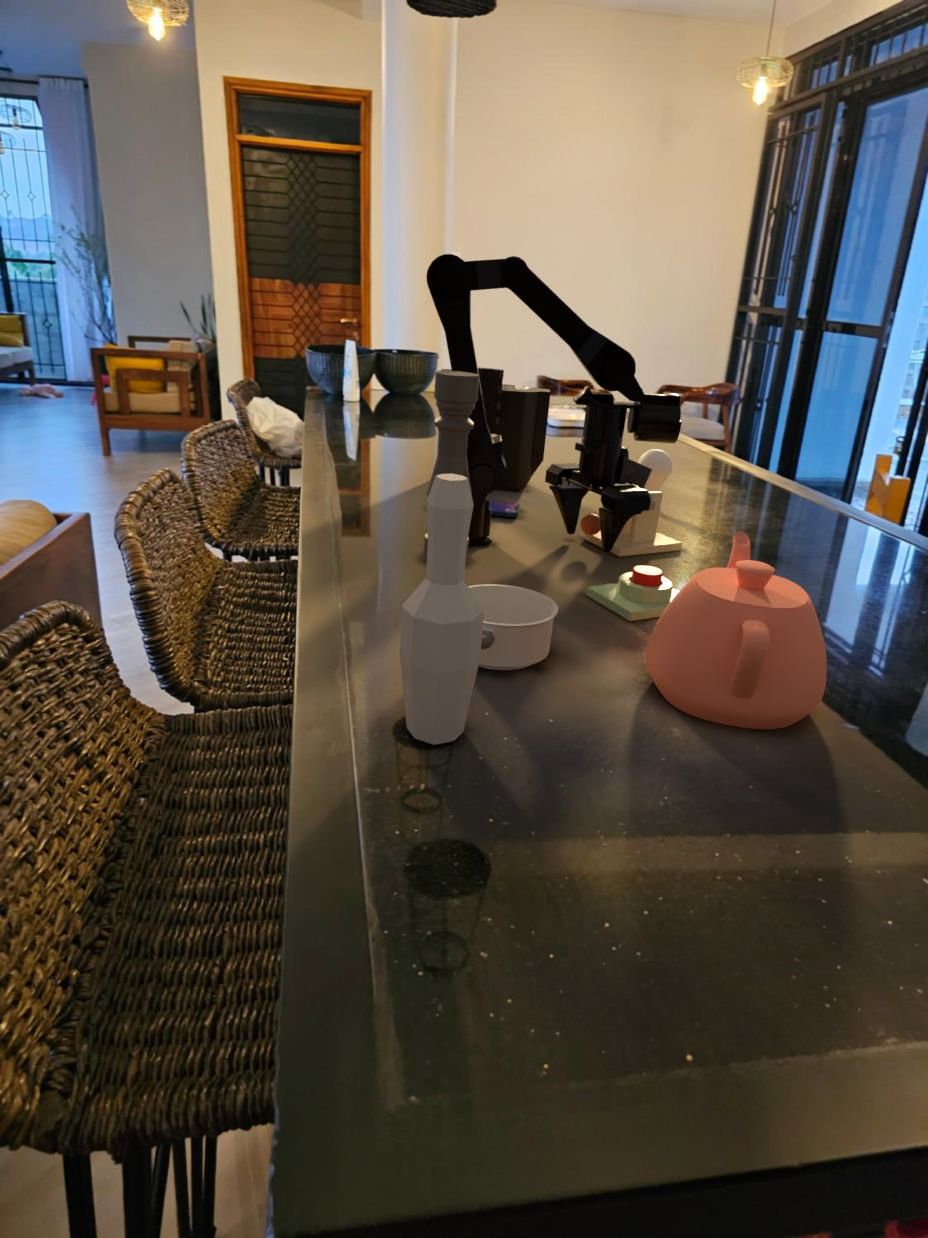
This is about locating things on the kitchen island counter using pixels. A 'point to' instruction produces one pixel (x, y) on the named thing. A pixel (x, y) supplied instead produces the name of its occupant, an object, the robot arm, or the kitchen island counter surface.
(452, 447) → the candle holder
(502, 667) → the saucepan
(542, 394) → the brown vase set
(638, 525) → the switch bracket
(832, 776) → the kitchen island counter surface
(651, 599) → the button housing
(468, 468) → the robot arm
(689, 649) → the teapot
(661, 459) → the lightbulb
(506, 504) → the smartphone
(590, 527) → the switch lever
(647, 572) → the button
